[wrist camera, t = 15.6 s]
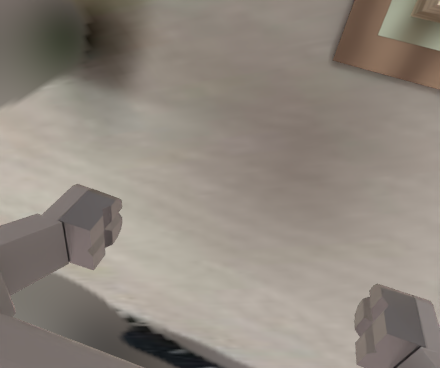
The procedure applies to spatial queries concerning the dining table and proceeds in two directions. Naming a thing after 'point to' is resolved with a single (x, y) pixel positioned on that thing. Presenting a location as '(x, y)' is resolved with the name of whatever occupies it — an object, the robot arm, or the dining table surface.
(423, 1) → the maple block
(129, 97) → the dining table surface
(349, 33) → the puzzle board
